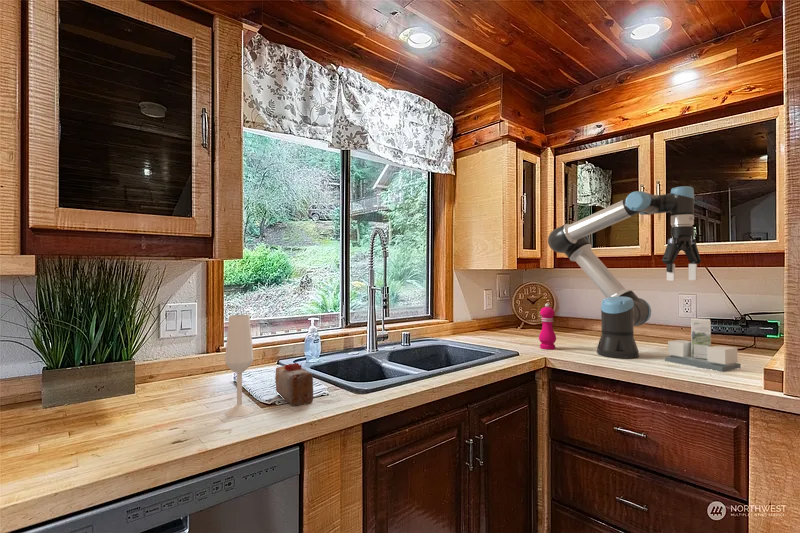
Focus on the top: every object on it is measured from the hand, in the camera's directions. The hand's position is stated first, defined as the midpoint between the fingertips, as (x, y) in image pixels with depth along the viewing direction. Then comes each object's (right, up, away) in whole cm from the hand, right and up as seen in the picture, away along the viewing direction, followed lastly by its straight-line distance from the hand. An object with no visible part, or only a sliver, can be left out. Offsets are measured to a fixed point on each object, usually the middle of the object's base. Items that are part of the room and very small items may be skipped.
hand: (681, 280), depth 162 cm
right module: (+3, -28, -17) cm, 33 cm away
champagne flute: (-151, -31, -59) cm, 165 cm away
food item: (-140, -31, -49) cm, 152 cm away
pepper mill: (-46, -31, +20) cm, 59 cm away
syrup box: (0, -28, -11) cm, 30 cm away
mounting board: (0, -31, -10) cm, 32 cm away
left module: (-3, -28, -4) cm, 29 cm away
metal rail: (0, -29, -10) cm, 31 cm away
